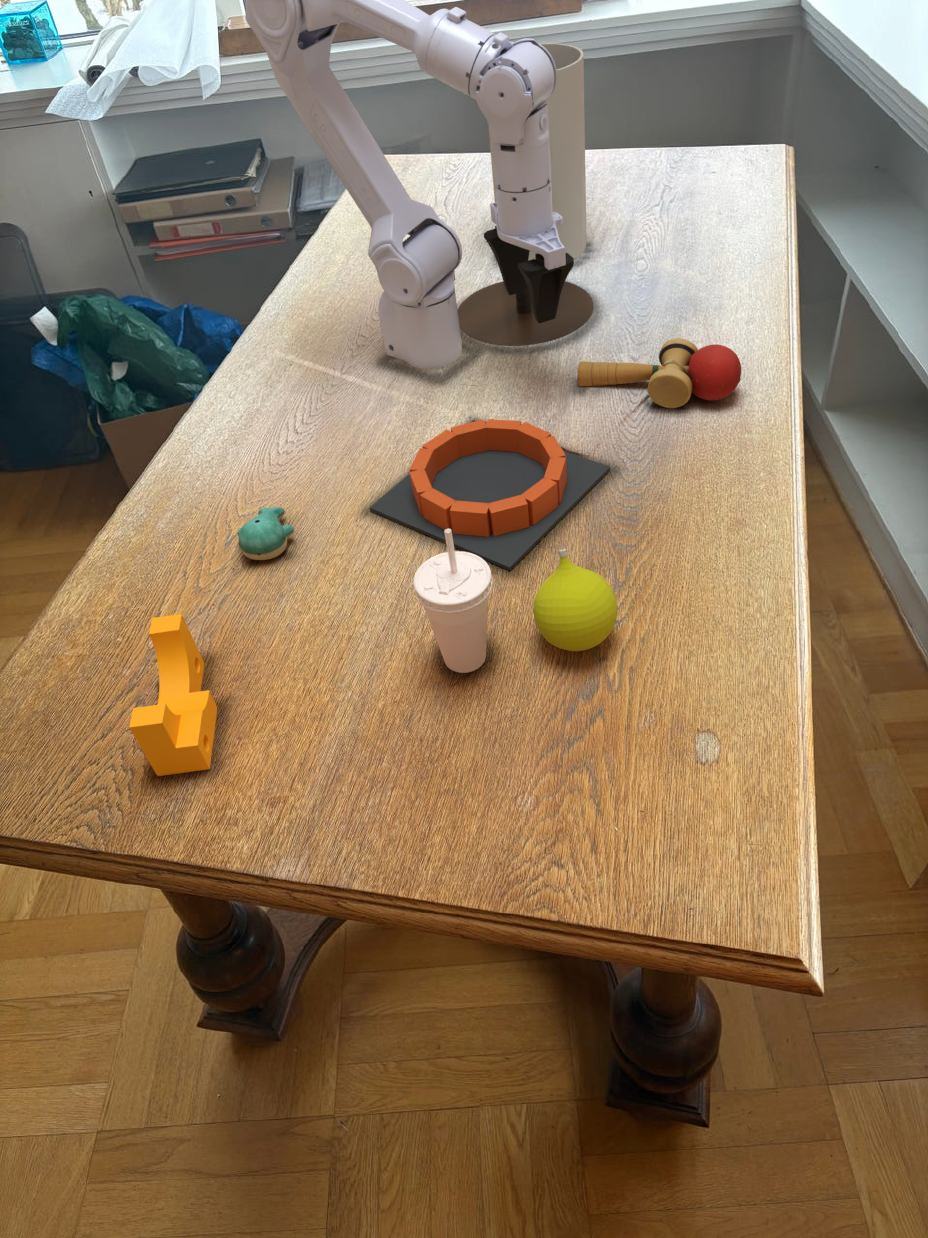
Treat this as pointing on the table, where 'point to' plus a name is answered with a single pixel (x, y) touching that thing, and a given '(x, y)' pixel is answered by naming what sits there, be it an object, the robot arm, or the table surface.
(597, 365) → the kendama
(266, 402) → the table surface
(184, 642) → the pipe clamp
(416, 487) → the ring
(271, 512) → the whale figurine
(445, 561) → the smoothie
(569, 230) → the cylinder vase
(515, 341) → the round disc
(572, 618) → the ornament
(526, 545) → the mat
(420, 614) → the table surface
